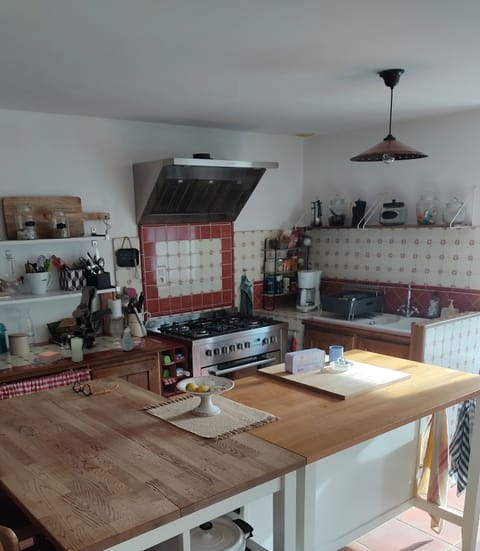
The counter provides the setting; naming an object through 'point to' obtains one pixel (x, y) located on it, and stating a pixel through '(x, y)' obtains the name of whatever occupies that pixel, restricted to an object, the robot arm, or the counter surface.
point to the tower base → (48, 357)
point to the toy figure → (127, 341)
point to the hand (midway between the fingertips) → (76, 350)
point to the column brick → (76, 349)
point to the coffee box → (119, 327)
